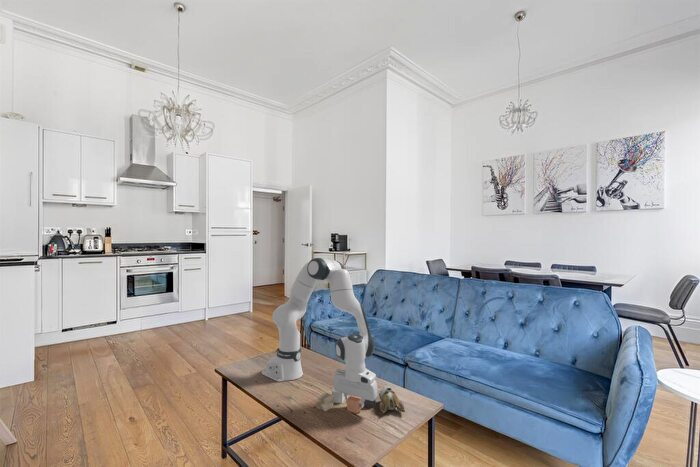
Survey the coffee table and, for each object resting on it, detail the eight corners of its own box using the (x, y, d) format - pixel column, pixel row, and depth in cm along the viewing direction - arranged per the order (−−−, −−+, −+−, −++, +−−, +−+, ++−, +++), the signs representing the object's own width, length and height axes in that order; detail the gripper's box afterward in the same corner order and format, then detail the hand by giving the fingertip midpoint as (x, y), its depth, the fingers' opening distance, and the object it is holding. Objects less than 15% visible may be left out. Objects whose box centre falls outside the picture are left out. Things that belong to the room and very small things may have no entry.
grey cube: (331, 402, 143) (331, 391, 143) (334, 396, 148) (334, 386, 148) (342, 403, 142) (342, 392, 142) (344, 398, 147) (344, 387, 147)
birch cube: (317, 407, 138) (317, 396, 138) (324, 403, 142) (324, 392, 142) (325, 411, 135) (325, 400, 135) (333, 407, 139) (333, 395, 139)
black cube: (364, 406, 140) (364, 395, 140) (364, 400, 145) (364, 389, 145) (375, 407, 139) (375, 395, 140) (375, 401, 144) (375, 390, 144)
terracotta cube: (347, 410, 137) (347, 398, 137) (352, 405, 141) (352, 393, 141) (357, 413, 134) (357, 401, 134) (362, 407, 139) (362, 396, 139)
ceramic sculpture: (397, 379, 147) (406, 397, 132) (396, 397, 147) (406, 418, 133) (374, 380, 146) (381, 399, 131) (374, 399, 146) (381, 419, 131)
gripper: (330, 370, 140) (330, 402, 140) (373, 381, 130) (373, 415, 130) (338, 365, 145) (337, 396, 145) (379, 375, 136) (379, 407, 136)
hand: (354, 405), depth 138 cm, fingers open, 5 cm apart
